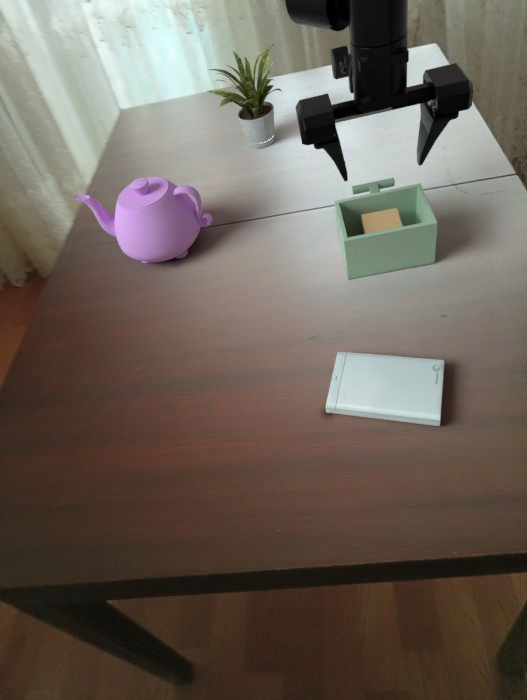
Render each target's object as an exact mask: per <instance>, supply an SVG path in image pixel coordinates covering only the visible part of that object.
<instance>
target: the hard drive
mask: <svg viewBox="0 0 527 700" xmlns="http://www.w3.org/2000/svg"><path fill="white" fill-rule="evenodd" d="M445 363H446V361H445V360H444V359H435V358H424V357H423V358H422V357H412V356H411V357H409V356H401V355H400V356H399V355H388V354H376V353H375V354H374V353H365V352H364V353H363V352H349V351H337V353H336V357H335V361H334V366H333V370H332V375H331V379H330V384H329V389H328V394H327V397H326V403H325V412H326V413H327V414H336V415H343V416H352V417H358V418H368V419H376V420H384V421H392V422H399V423H400V422H402V423H409V424H417V425H425V426H435V427H440V426H441V420H442V409H443V407H442V406H443V393H444V392H443V391H444V379H445V378H444V376H445Z"/></svg>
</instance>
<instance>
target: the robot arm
mask: <svg viewBox="0 0 527 700" xmlns="http://www.w3.org/2000/svg"><path fill="white" fill-rule="evenodd" d="M284 2H285V8H286V12H287V14H288V16H289V18H290V20H291V21H292V23H295V25H297V26H298V25H299V26H305V27H311V28H316V29H322V30H328V31H333V32H342V31H344V30H346V29H347V28H348V33H349V48H348V46H347V45H342V46H339V47H333V48H330V49H329V50H330V61H331V62H330V63H331V69H332V78H333V79H334V80H339V79H344V78H348V89H349V93H350V94H353V99H351V100H347V101H346V100H345V101H342V102H338V103H337V102H336V103H334V104H333V103H332V102H331V99H330V95H329V93H323V94H318V95H316V96H311V97H306V98H303V99H299V100H298V102H297V103H296V105H295V112H296V121H297V124H298V130H299V135H300V140H301V144H302V145H303V146H311V145H312V146H313V148H314V149H315V150H322V149H323V150H324V151H325V153H326V154H327V155H328V156H329V157H330V159H331V160H332V161H333V163H334V165H335V166H336V168H337V170H338V171H339V174H340V176H341V178H342V179H343V181H344V182H348V180H349V178H348V177H349V175H348V169H347V166H346V162H345V156H344V153H343V149H342V145H341V141H340V137H339V133H338V129H337V126H336V124H337V123H341V122H347V121H350V120H356V119H360V118H363V117H368V116H372V115H377V114H381V113H386V112H390V111H396V110H399V109H403V108H407V107H412V106H416V105H419V107H420V108H419V109H420V118H419V126H418V127H419V128H418V137H417V145H416V162H417V164H418V166H423V164H424V163H425V161H426V159H427V158H428V156H429V154H430V152H431V150H432V148H433V146H434V145H435V143H436V141H437V140H438V138H439V137H440V135H442V133H443V132H444V130H445V128H446V127H447V126H448V124H449V123H450V122H451V121H452V120H456V119H458V118H459V116H460V112H462V111H467V110H470V109H471V107H472V106H473V100H474V99H473V98H474V85H473V82H472V80H471V79H470V78H469V76H468V75H467V73H466V72H465V70H464V69H463V68H462V67H461V66H460V65H459V64H458V63H456V62H455V63H450V64H445V65H442V66H441V65H440V66H437V67H432V68H429V69H425V70H424V72H423V75H422V83H419V84H414V85H410V86H408V63H409V62H410V58H409V57H410V51H409V49H408V40H409V39H408V38H409V37H408V36H409V35H408V34H409V33H408V32H409V30H408V27H409V26H408V25H409V0H284ZM349 49H350V52H349Z"/></svg>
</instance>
